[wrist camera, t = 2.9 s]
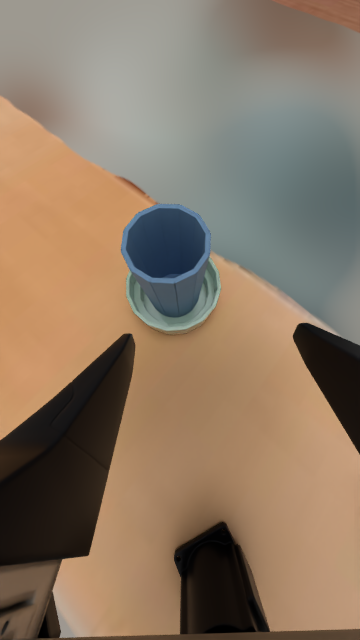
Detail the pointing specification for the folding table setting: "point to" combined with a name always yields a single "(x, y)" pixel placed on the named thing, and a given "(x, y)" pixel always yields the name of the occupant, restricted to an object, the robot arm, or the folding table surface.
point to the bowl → (177, 324)
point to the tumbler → (168, 256)
